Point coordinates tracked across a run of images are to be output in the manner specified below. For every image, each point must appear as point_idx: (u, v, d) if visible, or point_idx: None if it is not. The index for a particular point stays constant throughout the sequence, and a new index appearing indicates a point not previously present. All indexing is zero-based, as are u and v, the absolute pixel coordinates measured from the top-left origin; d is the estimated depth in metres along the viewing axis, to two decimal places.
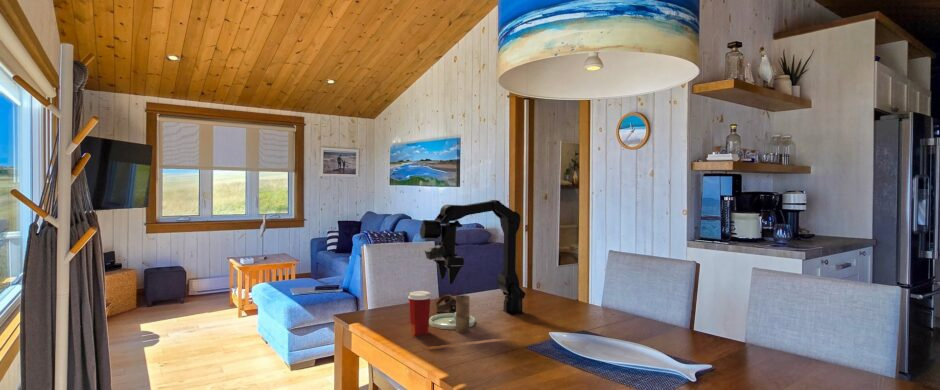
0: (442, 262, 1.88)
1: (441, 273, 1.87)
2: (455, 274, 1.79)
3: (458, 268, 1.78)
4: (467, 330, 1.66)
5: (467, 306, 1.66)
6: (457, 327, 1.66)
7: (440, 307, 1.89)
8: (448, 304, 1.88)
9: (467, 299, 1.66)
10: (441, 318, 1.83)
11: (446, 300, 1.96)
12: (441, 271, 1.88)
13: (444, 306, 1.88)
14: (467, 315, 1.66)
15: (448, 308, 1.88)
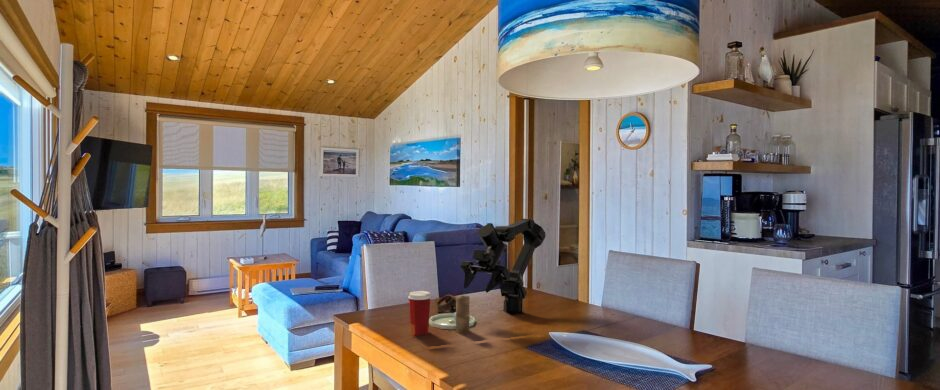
0: (471, 273, 1.80)
1: (466, 282, 1.77)
2: (494, 285, 1.73)
3: (499, 281, 1.74)
4: (467, 330, 1.66)
5: (467, 306, 1.66)
6: (457, 327, 1.66)
7: (441, 307, 1.89)
8: (449, 304, 1.88)
9: (467, 299, 1.66)
10: (441, 318, 1.83)
11: (447, 300, 1.96)
12: (467, 281, 1.78)
13: (445, 306, 1.88)
14: (467, 315, 1.66)
15: (449, 308, 1.88)
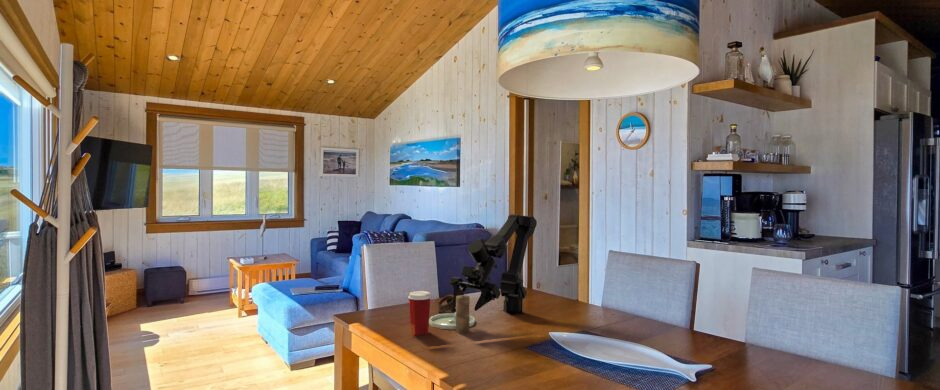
0: (460, 290, 1.75)
1: (455, 299, 1.72)
2: (483, 303, 1.67)
3: (489, 299, 1.69)
4: (467, 330, 1.66)
5: (467, 306, 1.66)
6: (457, 327, 1.66)
7: (442, 307, 1.88)
8: (450, 304, 1.88)
9: (467, 299, 1.66)
10: (441, 318, 1.83)
11: (448, 300, 1.96)
12: None
13: (446, 306, 1.88)
14: (467, 315, 1.66)
15: (450, 308, 1.88)
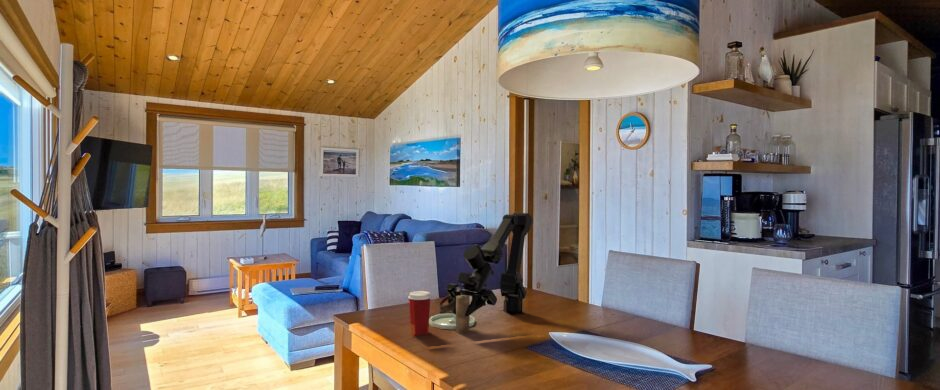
0: None
1: None
2: (474, 309, 1.67)
3: (480, 305, 1.68)
4: (467, 330, 1.66)
5: (467, 306, 1.66)
6: (457, 327, 1.66)
7: (444, 307, 1.88)
8: (452, 304, 1.88)
9: (467, 299, 1.66)
10: (441, 318, 1.83)
11: (449, 300, 1.96)
12: None
13: (448, 306, 1.88)
14: None
15: (452, 308, 1.88)
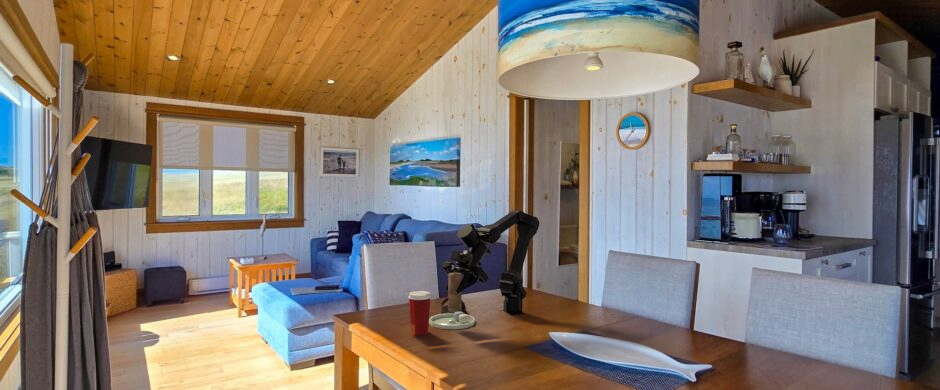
0: None
1: None
2: (466, 286, 1.70)
3: (472, 283, 1.71)
4: (458, 306, 1.70)
5: (458, 283, 1.69)
6: (449, 303, 1.70)
7: (445, 307, 1.88)
8: None
9: (458, 276, 1.69)
10: (441, 318, 1.83)
11: None
12: None
13: None
14: None
15: None
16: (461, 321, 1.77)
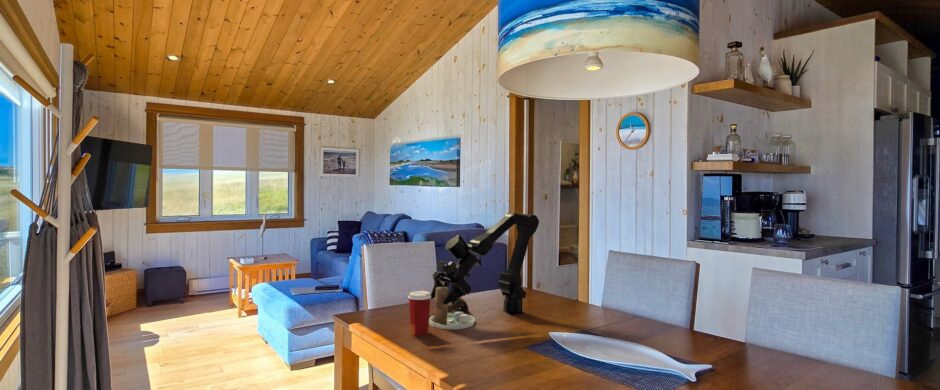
0: (440, 284, 1.82)
1: (433, 293, 1.80)
2: (453, 298, 1.72)
3: (460, 295, 1.73)
4: (443, 320, 1.75)
5: (444, 297, 1.74)
6: (434, 317, 1.76)
7: (448, 308, 1.88)
8: (456, 305, 1.88)
9: (444, 291, 1.74)
10: None
11: (453, 301, 1.95)
12: (434, 292, 1.80)
13: (452, 307, 1.87)
14: (443, 306, 1.74)
15: (456, 309, 1.87)
16: (461, 321, 1.77)
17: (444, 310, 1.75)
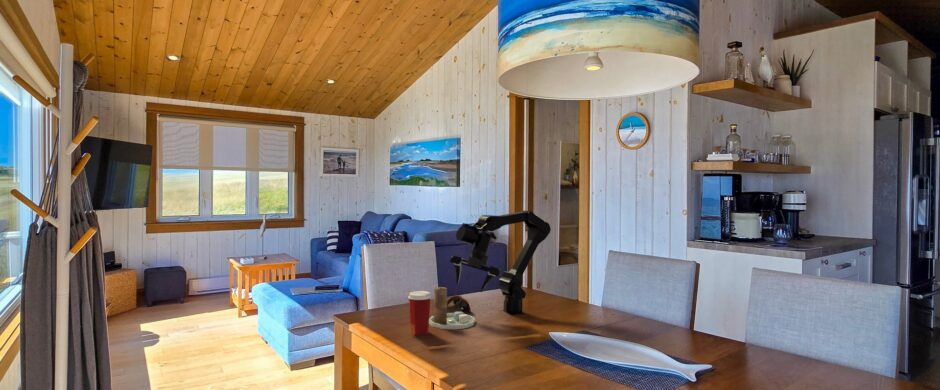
0: (460, 268, 1.86)
1: (458, 279, 1.85)
2: None
3: (490, 278, 1.86)
4: (443, 320, 1.75)
5: (443, 297, 1.74)
6: (434, 317, 1.76)
7: (450, 308, 1.88)
8: (458, 305, 1.87)
9: (443, 291, 1.74)
10: None
11: (455, 301, 1.95)
12: (458, 277, 1.85)
13: (454, 307, 1.87)
14: (442, 306, 1.74)
15: (458, 309, 1.87)
16: (461, 321, 1.77)
17: (443, 310, 1.75)
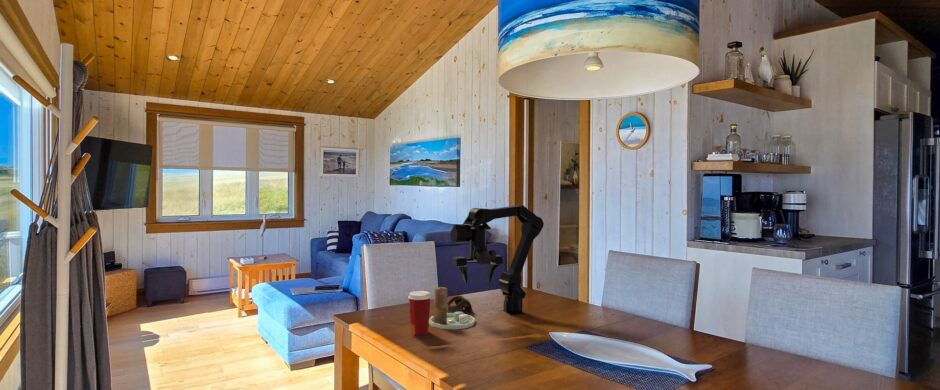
0: None
1: None
2: None
3: None
4: (443, 320, 1.75)
5: (443, 297, 1.74)
6: (434, 317, 1.76)
7: (452, 308, 1.87)
8: (460, 305, 1.87)
9: (443, 291, 1.74)
10: None
11: (456, 301, 1.95)
12: None
13: (456, 307, 1.87)
14: (442, 306, 1.74)
15: (460, 309, 1.87)
16: (461, 321, 1.77)
17: (443, 310, 1.75)
